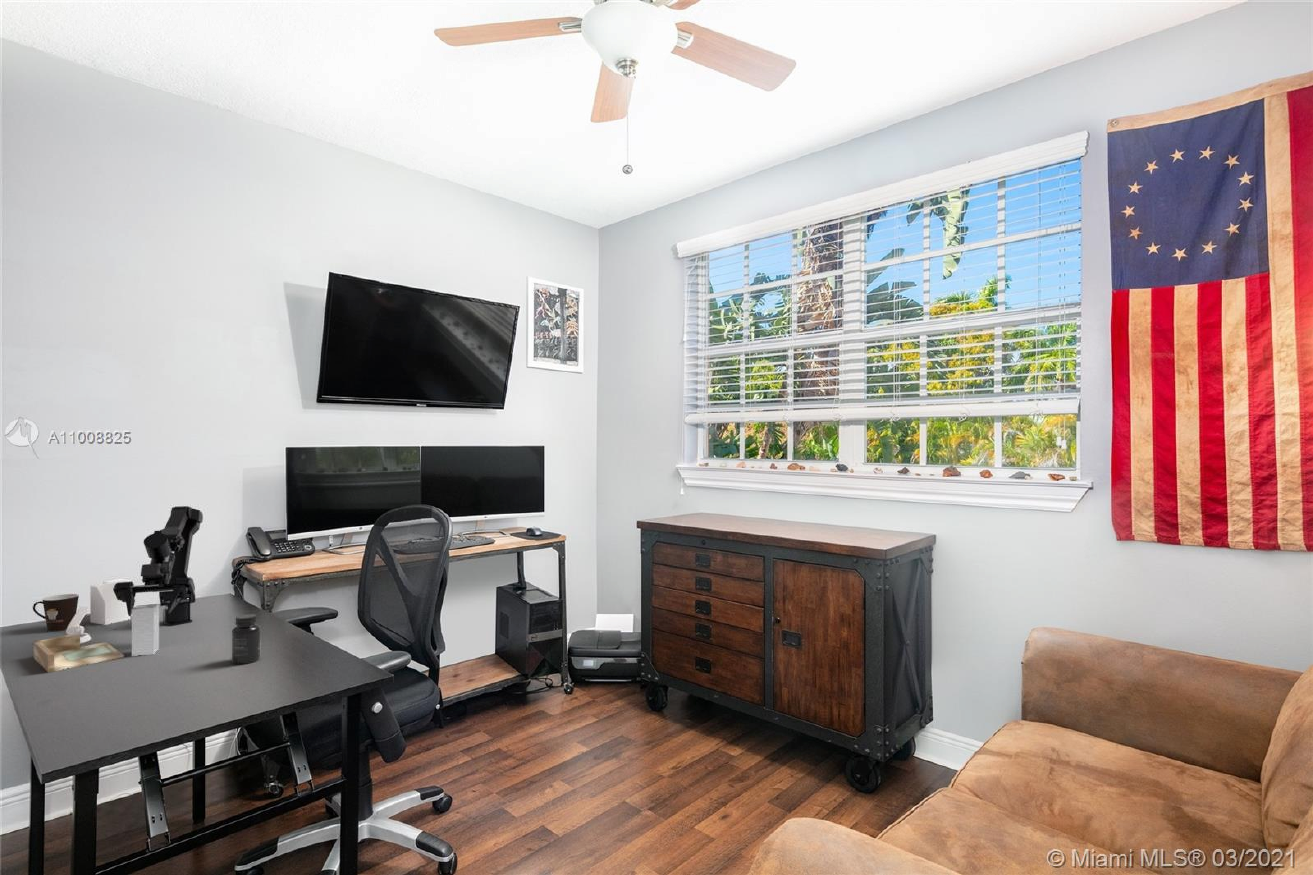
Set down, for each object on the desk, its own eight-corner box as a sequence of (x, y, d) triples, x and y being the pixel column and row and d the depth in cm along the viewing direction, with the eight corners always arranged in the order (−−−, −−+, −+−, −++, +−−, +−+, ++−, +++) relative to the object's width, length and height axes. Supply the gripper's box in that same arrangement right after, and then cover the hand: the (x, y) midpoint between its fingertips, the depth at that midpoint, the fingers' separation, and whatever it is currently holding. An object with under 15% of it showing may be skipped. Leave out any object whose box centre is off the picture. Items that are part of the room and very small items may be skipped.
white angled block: (120, 613, 231) (120, 578, 231) (141, 616, 226) (141, 581, 226) (84, 621, 221) (84, 585, 221) (105, 625, 217) (105, 587, 217)
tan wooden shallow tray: (105, 644, 196) (105, 628, 196) (123, 657, 185) (123, 640, 185) (33, 657, 184) (33, 641, 184) (48, 672, 172) (48, 655, 172)
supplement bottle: (266, 658, 183) (266, 614, 183) (242, 666, 177) (242, 620, 177) (250, 655, 186) (250, 612, 186) (225, 662, 180) (225, 618, 180)
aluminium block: (137, 651, 190) (137, 605, 190) (159, 649, 192) (159, 603, 192) (131, 656, 185) (131, 609, 185) (153, 654, 187) (153, 607, 187)
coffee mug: (85, 626, 215) (85, 595, 215) (53, 633, 207) (53, 601, 207) (61, 623, 219) (61, 592, 219) (29, 630, 211) (29, 598, 211)
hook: (109, 616, 208) (101, 607, 203) (88, 654, 201) (78, 647, 195) (82, 612, 207) (73, 603, 201) (59, 650, 199) (49, 642, 194)
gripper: (115, 554, 193) (101, 601, 183) (192, 550, 200) (182, 595, 190) (124, 577, 200) (111, 623, 190) (199, 572, 207) (189, 616, 197)
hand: (149, 613), depth 191 cm, fingers open, 9 cm apart
